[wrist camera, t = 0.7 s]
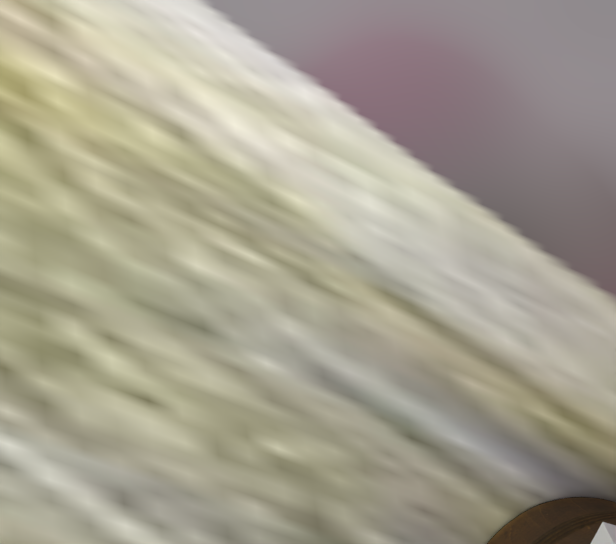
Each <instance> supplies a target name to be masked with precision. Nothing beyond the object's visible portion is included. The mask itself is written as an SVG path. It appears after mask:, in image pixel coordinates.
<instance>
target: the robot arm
mask: <svg viewBox="0 0 616 544" xmlns="http://www.w3.org/2000/svg"><path fill="white" fill-rule="evenodd" d="M591 544H616V525H612V524H609V523H605V522H602V524H601V526H600V527H599V529H598V531H597V533H596V535H595V537H594V538H593V540H592V542H591Z"/></svg>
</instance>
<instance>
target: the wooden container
mask: <svg viewBox="0 0 616 544" xmlns="http://www.w3.org/2000/svg"><path fill="white" fill-rule="evenodd" d="M602 522H605V523H609V524H612V525H616V502H612V501H608V500H604V499H598V498H586V497H572V498H564V499H558V500H554V501H550V502H546V503H543V504H540V505H537V506H535V507H533V508H531V509H529V510H527V511H525V512H524V513H522V514H521V515H519V516H518V517H516V518H515V519H513V520H512V521H510V522H509V523H508V524H506V525H505V526H504V527H503V528H502V529H501V530H500V531H499V532H498V533H497V534H496V535H495V536H494V537H493V538H492V539H491V540H490V541H489V542H488V543H487V544H591V542H592V540H593V538H594V537H595V535H596V533H597V531H598V529H599V527H600V526H601V524H602Z"/></svg>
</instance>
